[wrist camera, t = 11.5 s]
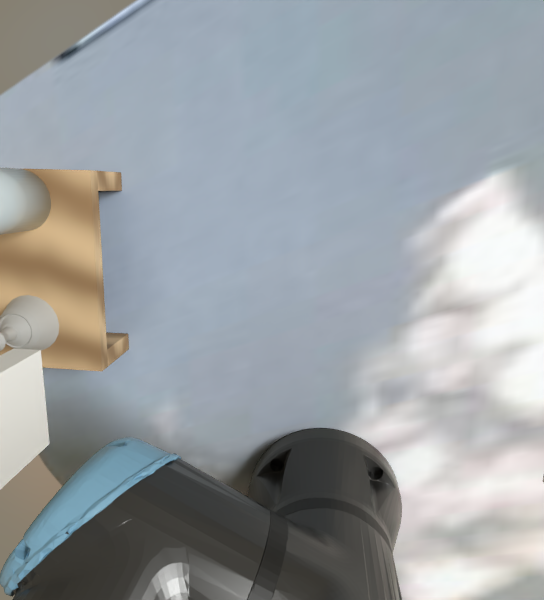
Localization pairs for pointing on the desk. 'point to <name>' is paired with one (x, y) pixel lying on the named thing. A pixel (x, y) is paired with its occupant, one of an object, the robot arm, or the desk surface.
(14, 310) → the chalice
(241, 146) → the desk surface
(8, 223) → the white glossy rounded part
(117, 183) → the shelf
